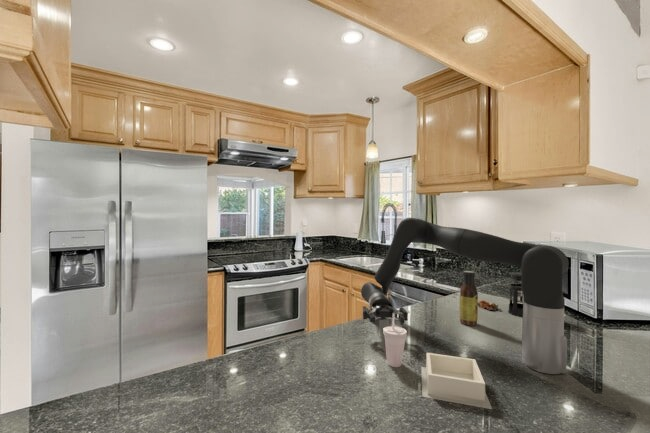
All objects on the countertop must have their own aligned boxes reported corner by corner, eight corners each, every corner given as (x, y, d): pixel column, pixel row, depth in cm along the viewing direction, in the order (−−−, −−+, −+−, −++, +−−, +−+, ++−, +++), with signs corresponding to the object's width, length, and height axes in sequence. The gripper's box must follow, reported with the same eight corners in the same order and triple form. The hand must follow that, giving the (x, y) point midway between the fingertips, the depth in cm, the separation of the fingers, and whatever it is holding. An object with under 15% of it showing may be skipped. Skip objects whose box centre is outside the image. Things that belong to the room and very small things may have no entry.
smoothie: (389, 357, 88) (390, 309, 87) (410, 365, 84) (411, 314, 83) (377, 366, 83) (379, 314, 83) (399, 374, 79) (401, 320, 78)
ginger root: (479, 303, 146) (479, 295, 146) (502, 311, 135) (503, 302, 135) (468, 304, 143) (469, 297, 143) (491, 312, 132) (491, 304, 132)
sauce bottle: (479, 327, 113) (480, 273, 113) (461, 325, 115) (462, 272, 114) (474, 321, 120) (475, 270, 120) (457, 319, 121) (458, 269, 121)
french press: (501, 311, 133) (503, 258, 132) (514, 308, 137) (516, 257, 137) (530, 320, 122) (532, 262, 122) (543, 317, 127) (545, 261, 126)
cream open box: (474, 377, 77) (475, 359, 77) (484, 404, 66) (485, 383, 66) (426, 369, 80) (426, 352, 80) (427, 394, 69) (428, 374, 69)
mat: (478, 377, 78) (478, 375, 78) (492, 411, 64) (492, 409, 64) (421, 368, 82) (421, 366, 82) (422, 399, 68) (422, 396, 68)
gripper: (360, 294, 110) (365, 308, 94) (400, 295, 109) (411, 309, 93) (359, 315, 110) (364, 332, 94) (399, 316, 109) (411, 334, 93)
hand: (388, 321), depth 93 cm, fingers open, 8 cm apart
